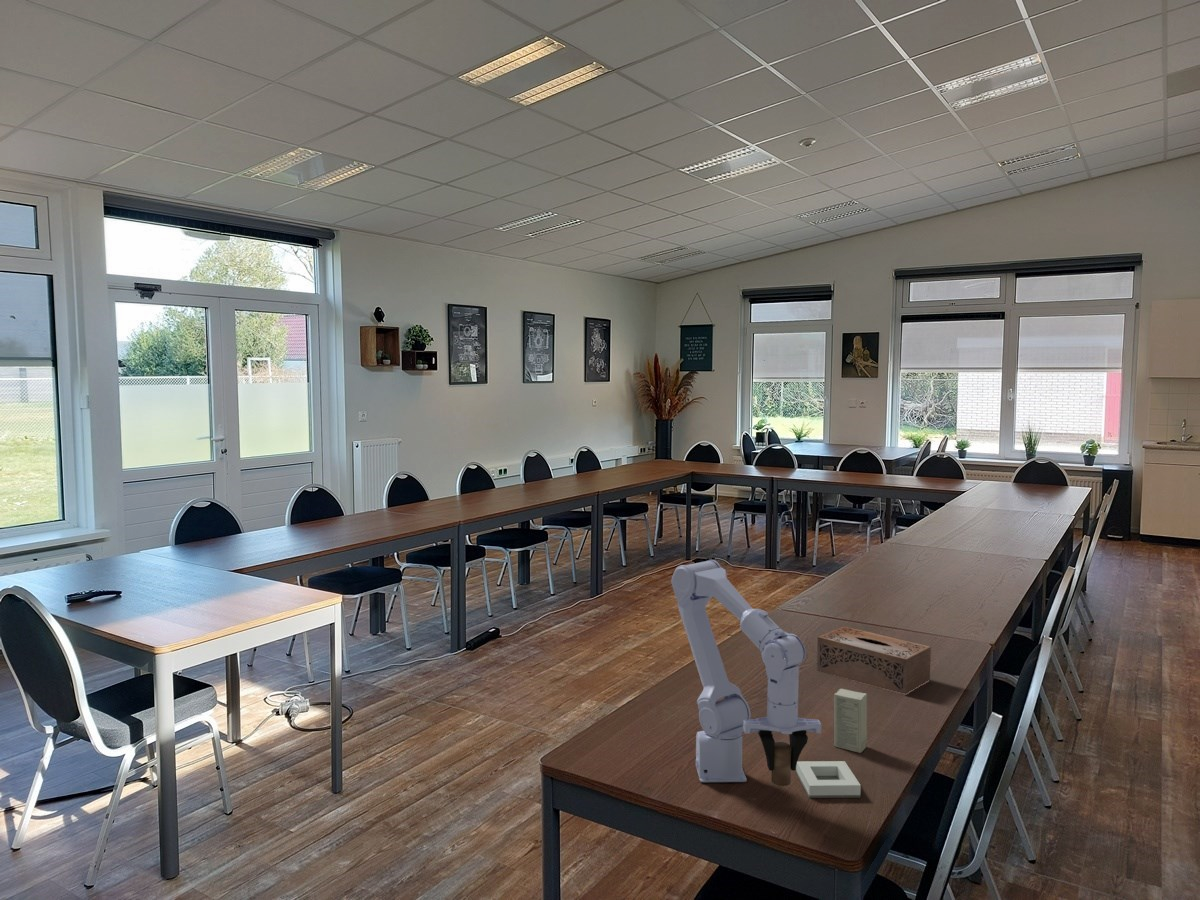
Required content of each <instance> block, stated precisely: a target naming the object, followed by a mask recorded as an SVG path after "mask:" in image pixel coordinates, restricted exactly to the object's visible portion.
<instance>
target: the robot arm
mask: <svg viewBox="0 0 1200 900" xmlns="http://www.w3.org/2000/svg"><path fill="white" fill-rule="evenodd" d="M670 583H671V586H672V587H671V588H672V589H673V592H674V595H675V599H676V603H677V608H678V612H679V615H680V618H681V621H682V623H683V627H684V631H685V634H686V637H687V640H688V643H689V646H690V650H691V653H692V656H693V659H694V661H695V666H696V669H697V672H698V675H699V678H700V682H701V684H702V687H703V690H702V691H701V693H700V695H699V696H698V698H697V699H696V704H697V707H698V720H699V724H700V726H701V728H702V730H700V731H697V732H696V737H695V757H696V758H695V768H696V771H697V775H698V779H699V782H700V783H746V782H747V781H748V780H747V777H746V774H745V772H744V769H743V732H744V734H749V735H750V734H751V733H757V734H758V736H759V738H760V741H761V744H762V746H763V747H762V748H763V750H764V753H765V759H766V764H767V768H768V770H769V772H772V771H773V767H774V765H773V751H774V743H775V742H776V741H775V739H774V734H773V733H780V734H782V735H789V738H788V739H789V745H791V771H796V764H797V761H799V758H800V755H801V753H802V751H803V749H804V748H805V746H806V745H807V743H808V738H809V737H808V735H807V733H815V734H822V723H821V721H820V720H819V719H812V718H811V719H810V718H803V717H798V716H799V683H800V682H799V678H800V665H801V664H802V663H803V662H804V661H805V659H806V654H807V653H806V652H807V651H806V647H805V645H804V643H803V641H802V640H801V638H800V637H799V636H798V635H796V634H794V633H788V631H784V630H783V629H782V628H781V627H780V626H779V625H778V624H776V622H774V620H773V619H771V617H769V613H768V612H767V611H765V610H763V609H761V608H752V606H751V605H750V604H749V602H747V600H746V598H744V597H743V595H742V594H741V593H740V592H739V591H738V589H736V587H735V586H734V584H732V583H731V581H729V579H728V574H727V570H726V569H725V568H723V567H722V566H721V565H720V563H719V562H718V561H716V560H715V559H708V560H706V561H700V562H696V563H689V564H681V565H678V566H677V567H676V568H675V569H674V572H673V574H672V577H671V579H670ZM712 598H715V600H716V601H718V602H719V603H720V605H722V606H723V607H724V608H726V609H727V610H728V612H730V613H731V614H732V615H733V616H734V617H735V618H737V619H738V621H739V628H740V631H742V633H744V635H746V637H747V638H748V639H749V640H750V641H751V642H752V643H753V644H754V645H755V646H756V647H757V648H758V649H759V650H760V653H761V660H762V661H763V664H764V665H765V675H766V677H767V696H766V697H767V699H766V700H767V701H766V705H767V706H766V707H767V708H766V716H764V717H763V716H761V717H757V718H751V717H752V716H751V715H752V713H751V708H750V705H749V703H748V701H747V700H746V699H745V697H744V696H743V694H742V690H741V688H740V687H739V686H737V685H735V684H734V683H732V682H730V681H729V678H728V676H727V672H726V669H725V665H724V662H723V659H722V656H721V654H720V651H719V648H718V644H717V640H716V639H715V636H714V632H713V629H712V626H711V623H710V620H709V619H710V618H709V616H708V613H707V611H706V610H707V609H706V607H707V605H708V603H709V601H710V600H711V599H712ZM722 698H723V699H722ZM719 699H721V700H719ZM717 700H718V701H717Z"/></svg>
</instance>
